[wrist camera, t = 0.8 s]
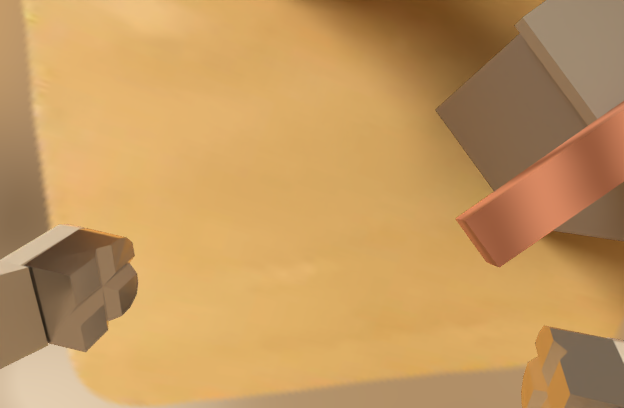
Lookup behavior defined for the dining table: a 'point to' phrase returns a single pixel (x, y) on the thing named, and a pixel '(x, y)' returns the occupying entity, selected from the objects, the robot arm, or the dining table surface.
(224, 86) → the dining table surface
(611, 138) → the copper-colored stick
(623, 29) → the shelf block
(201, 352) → the dining table surface
